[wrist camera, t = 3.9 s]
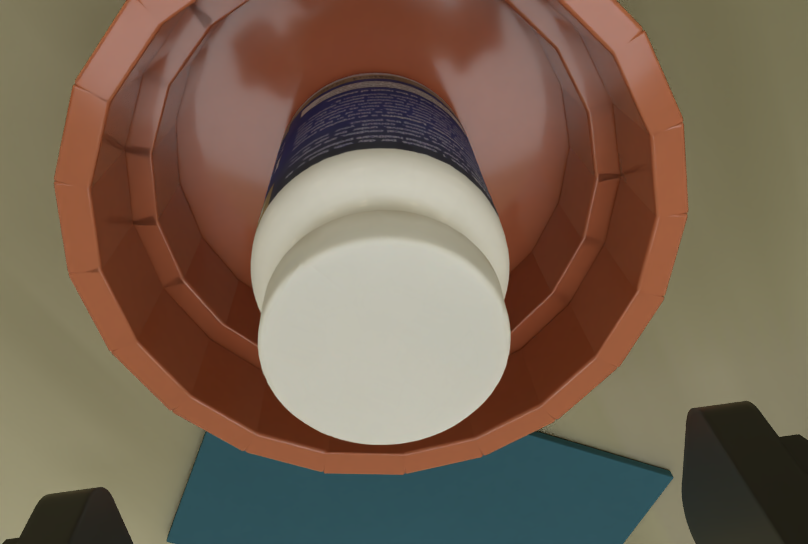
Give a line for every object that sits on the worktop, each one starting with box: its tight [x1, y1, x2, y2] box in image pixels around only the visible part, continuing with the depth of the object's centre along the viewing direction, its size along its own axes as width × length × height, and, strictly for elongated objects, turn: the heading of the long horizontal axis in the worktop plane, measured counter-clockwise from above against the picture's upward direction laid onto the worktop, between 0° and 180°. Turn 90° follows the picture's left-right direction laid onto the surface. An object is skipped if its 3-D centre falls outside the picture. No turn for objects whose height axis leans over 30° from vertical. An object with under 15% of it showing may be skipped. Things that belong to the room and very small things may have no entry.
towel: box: [167, 431, 673, 544], centre depth 29 cm, size 18×10×1 cm, turn 68°
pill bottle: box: [251, 73, 511, 445], centre depth 18 cm, size 6×6×10 cm
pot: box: [54, 0, 688, 475], centre depth 20 cm, size 15×15×6 cm
